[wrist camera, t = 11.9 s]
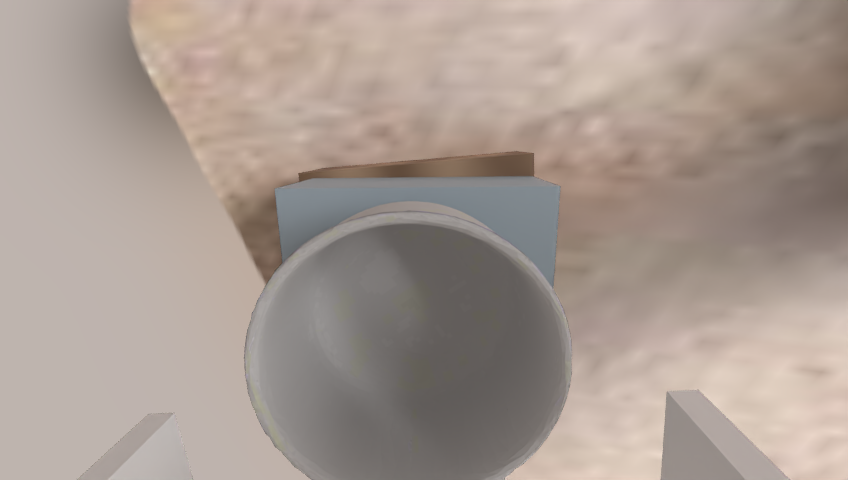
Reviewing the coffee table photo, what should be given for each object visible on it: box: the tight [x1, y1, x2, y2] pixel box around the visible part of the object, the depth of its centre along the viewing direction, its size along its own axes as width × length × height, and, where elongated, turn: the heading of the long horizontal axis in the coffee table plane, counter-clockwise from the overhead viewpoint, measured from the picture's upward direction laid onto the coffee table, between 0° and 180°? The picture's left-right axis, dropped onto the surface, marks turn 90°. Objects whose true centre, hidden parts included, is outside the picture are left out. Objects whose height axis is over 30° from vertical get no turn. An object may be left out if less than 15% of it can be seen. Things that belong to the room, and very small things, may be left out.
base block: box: [298, 152, 534, 182], centre depth 29 cm, size 15×15×6 cm
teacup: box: [244, 201, 572, 480], centre depth 17 cm, size 14×11×8 cm
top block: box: [275, 176, 560, 288], centre depth 24 cm, size 14×14×6 cm
